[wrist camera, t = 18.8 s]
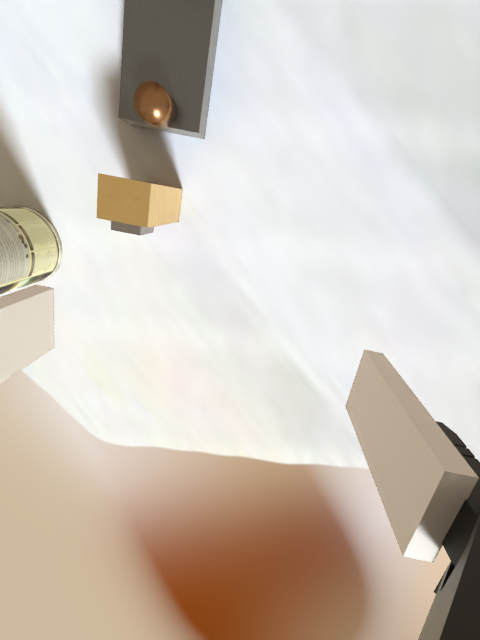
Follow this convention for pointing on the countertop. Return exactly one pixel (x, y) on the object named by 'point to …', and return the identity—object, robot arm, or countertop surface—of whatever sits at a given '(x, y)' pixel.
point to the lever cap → (136, 204)
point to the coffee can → (26, 248)
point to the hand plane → (168, 64)
